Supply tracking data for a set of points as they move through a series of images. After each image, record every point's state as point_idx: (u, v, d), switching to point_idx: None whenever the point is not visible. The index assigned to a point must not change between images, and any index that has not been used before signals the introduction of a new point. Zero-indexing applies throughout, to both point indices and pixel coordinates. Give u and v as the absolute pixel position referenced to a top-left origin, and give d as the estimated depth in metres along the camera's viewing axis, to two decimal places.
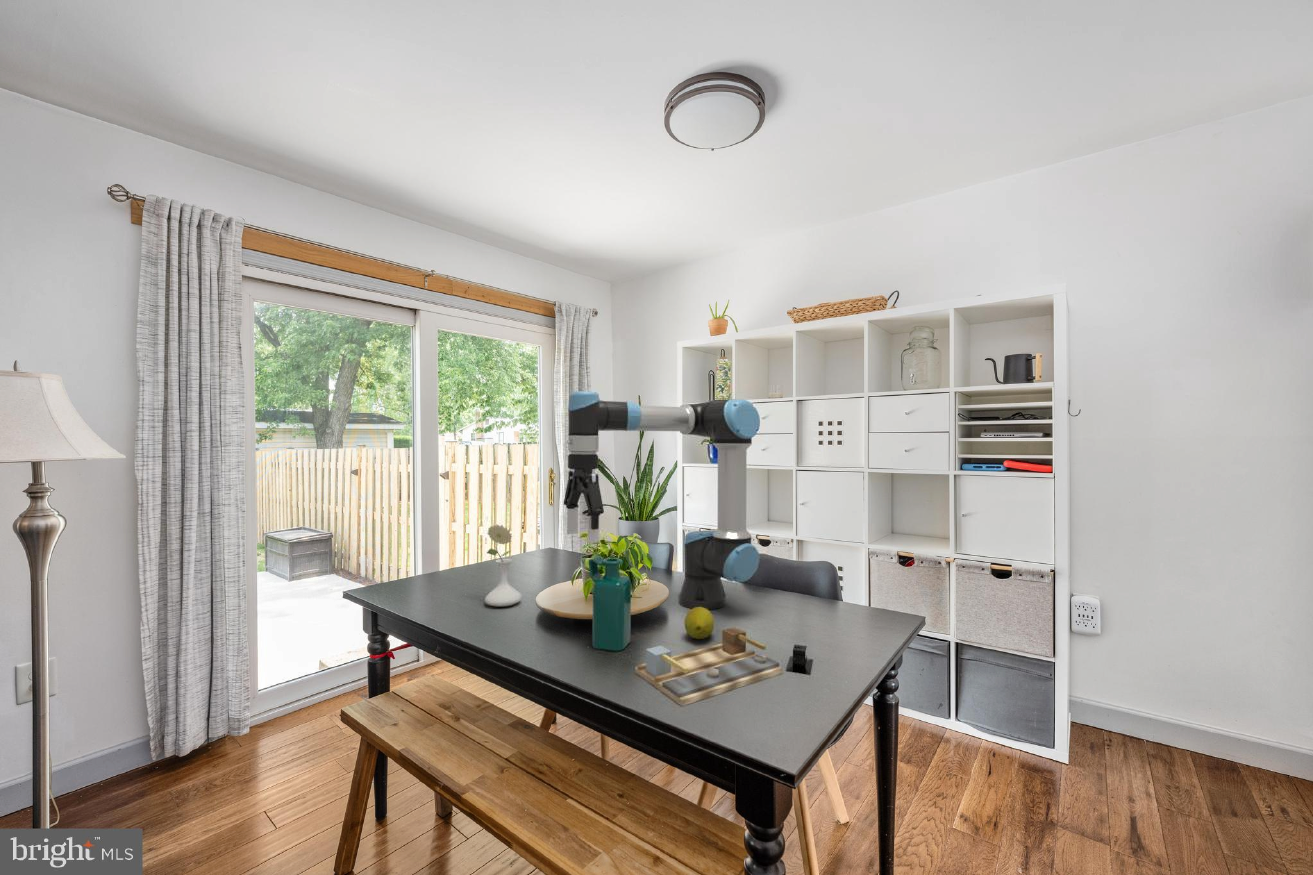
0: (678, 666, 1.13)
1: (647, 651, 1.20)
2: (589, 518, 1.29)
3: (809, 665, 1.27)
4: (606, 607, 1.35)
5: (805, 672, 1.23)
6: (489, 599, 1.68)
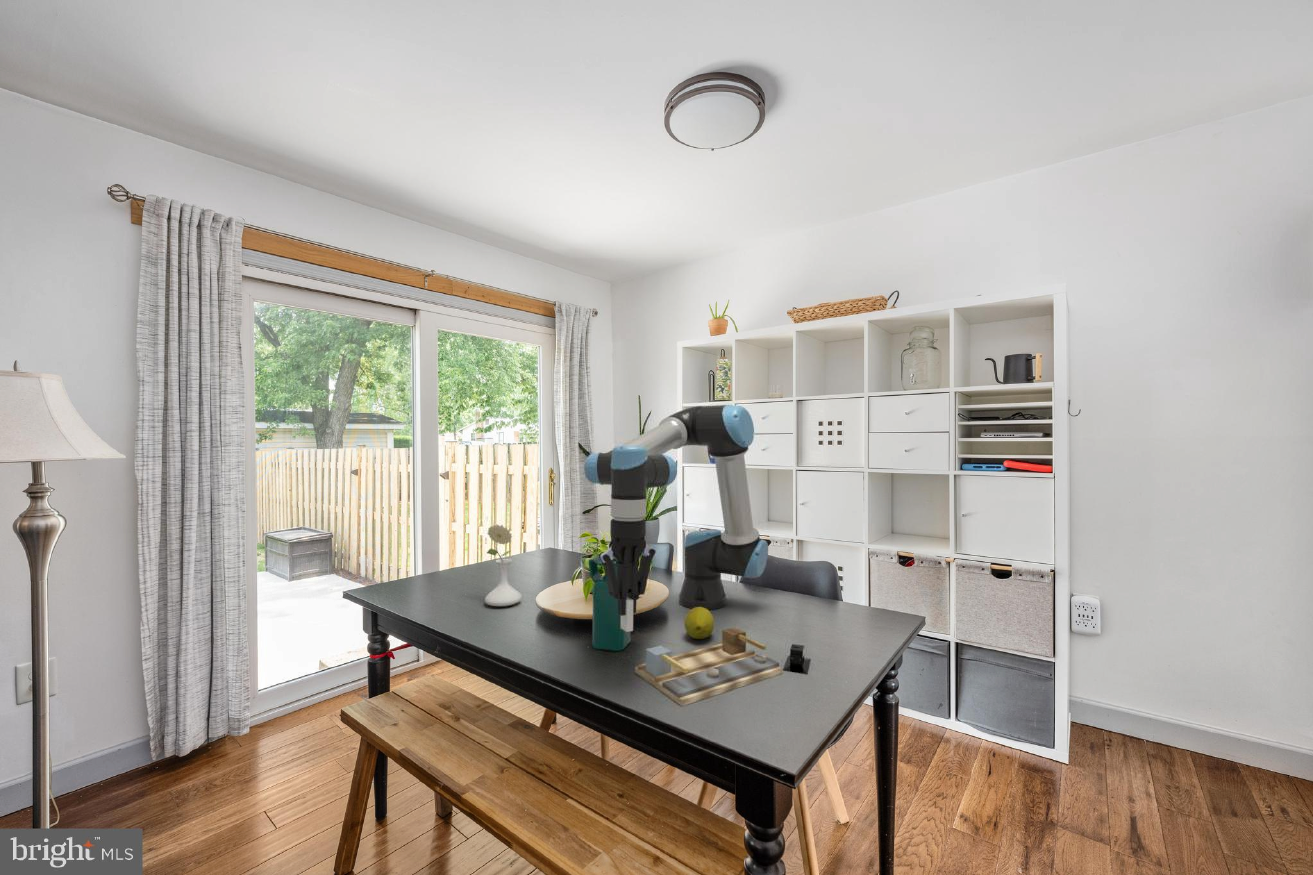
0: (678, 666, 1.13)
1: (647, 651, 1.20)
2: None
3: (806, 665, 1.27)
4: (606, 607, 1.35)
5: (802, 671, 1.23)
6: (489, 599, 1.68)
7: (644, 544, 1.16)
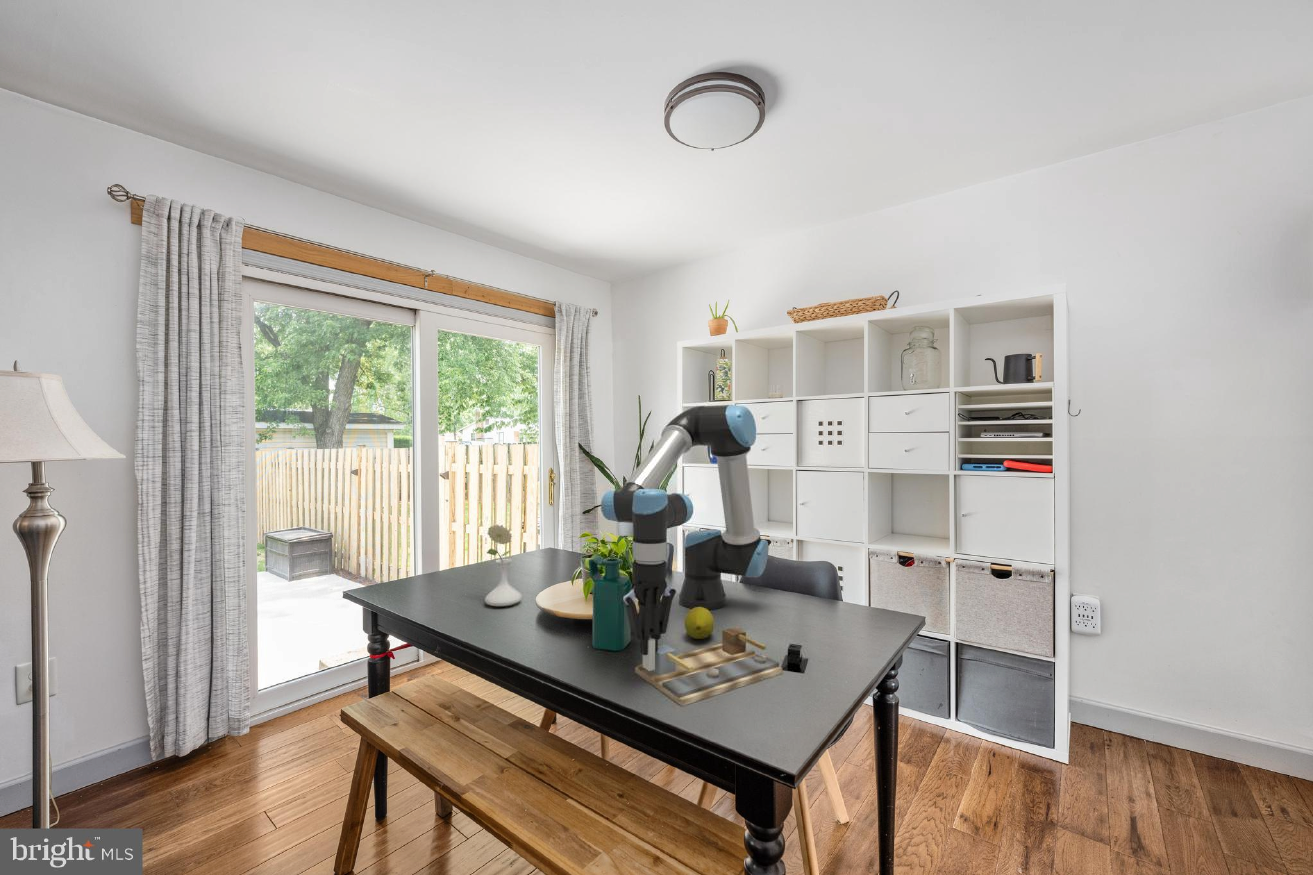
0: (683, 665, 1.13)
1: None
2: None
3: (804, 664, 1.27)
4: (606, 607, 1.35)
5: (799, 671, 1.24)
6: (489, 599, 1.68)
7: (665, 585, 1.19)
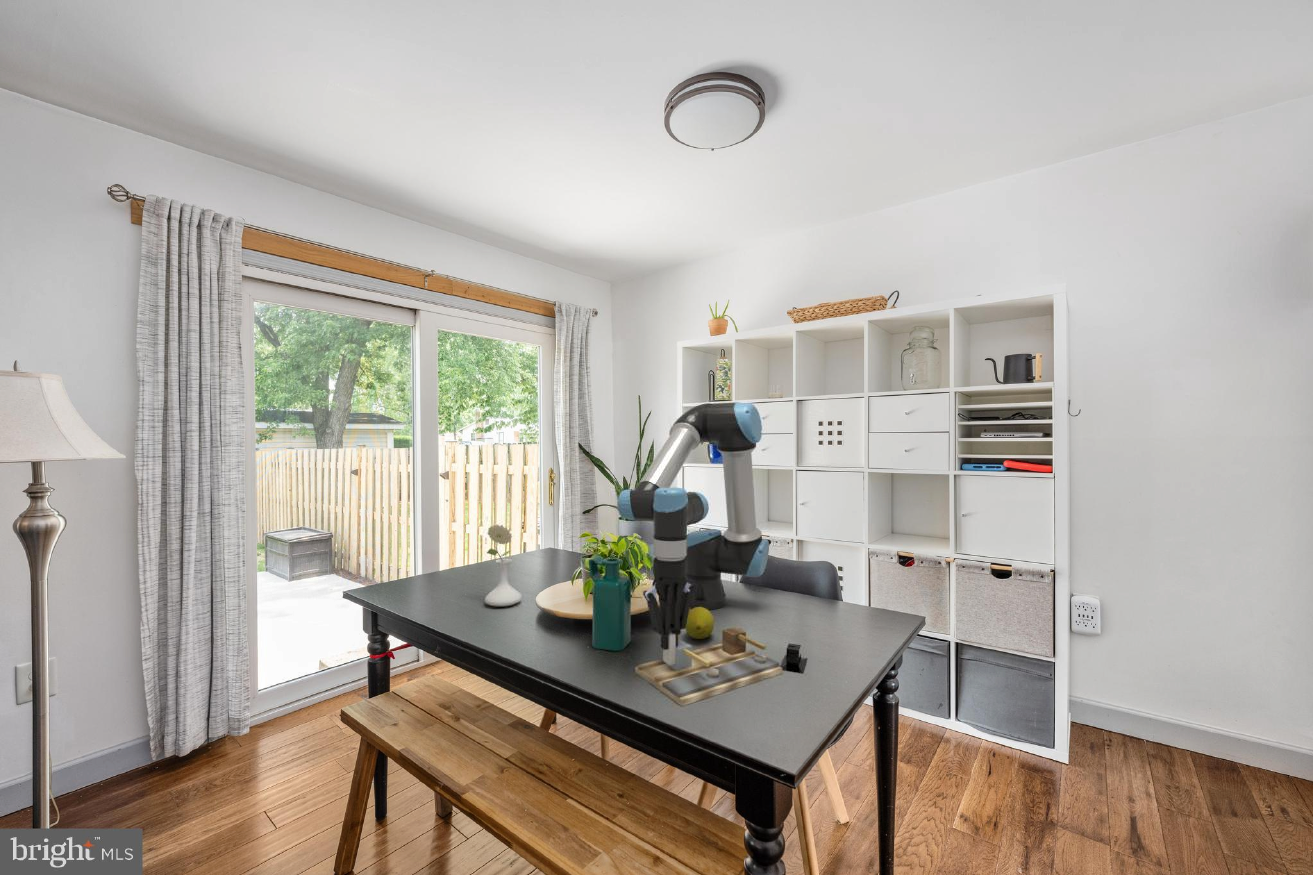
0: (700, 660, 1.16)
1: None
2: None
3: (803, 664, 1.27)
4: (606, 607, 1.35)
5: (798, 671, 1.24)
6: (489, 599, 1.68)
7: (685, 581, 1.22)
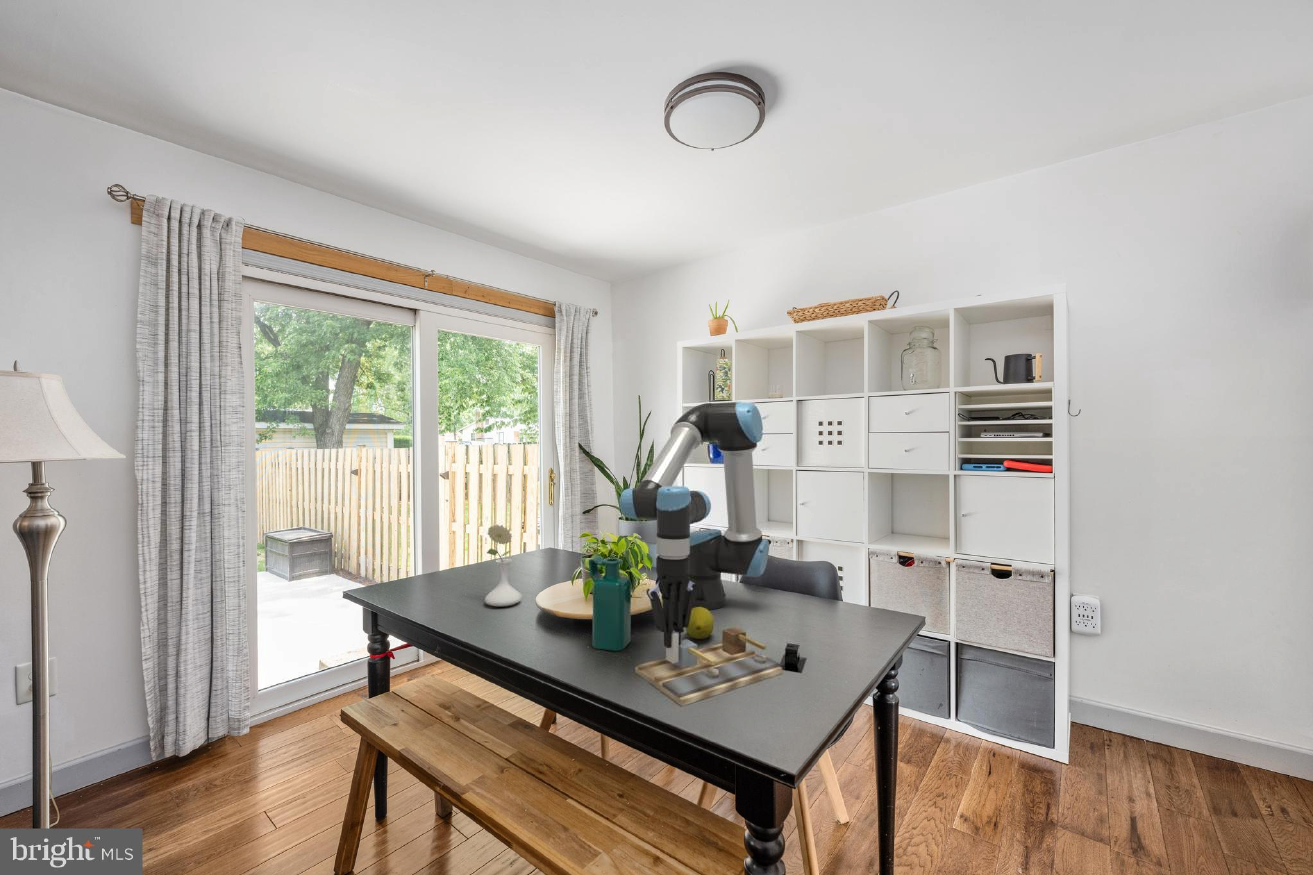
0: (705, 658, 1.17)
1: None
2: None
3: (801, 664, 1.27)
4: (606, 607, 1.35)
5: (797, 671, 1.24)
6: (489, 599, 1.68)
7: (688, 579, 1.23)
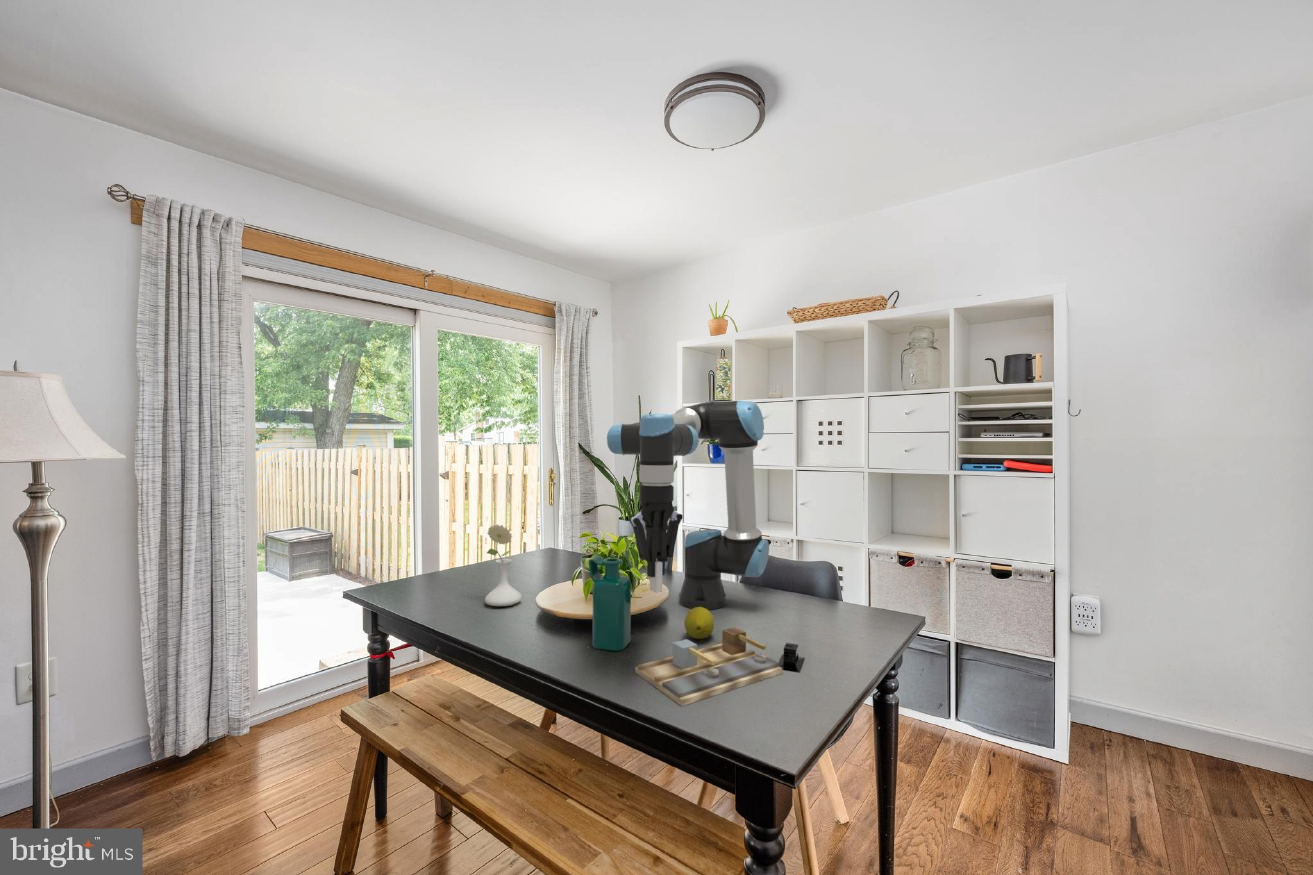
0: (705, 658, 1.17)
1: (674, 644, 1.24)
2: None
3: (800, 663, 1.28)
4: (606, 607, 1.35)
5: (795, 670, 1.24)
6: (489, 599, 1.68)
7: (672, 509, 1.21)
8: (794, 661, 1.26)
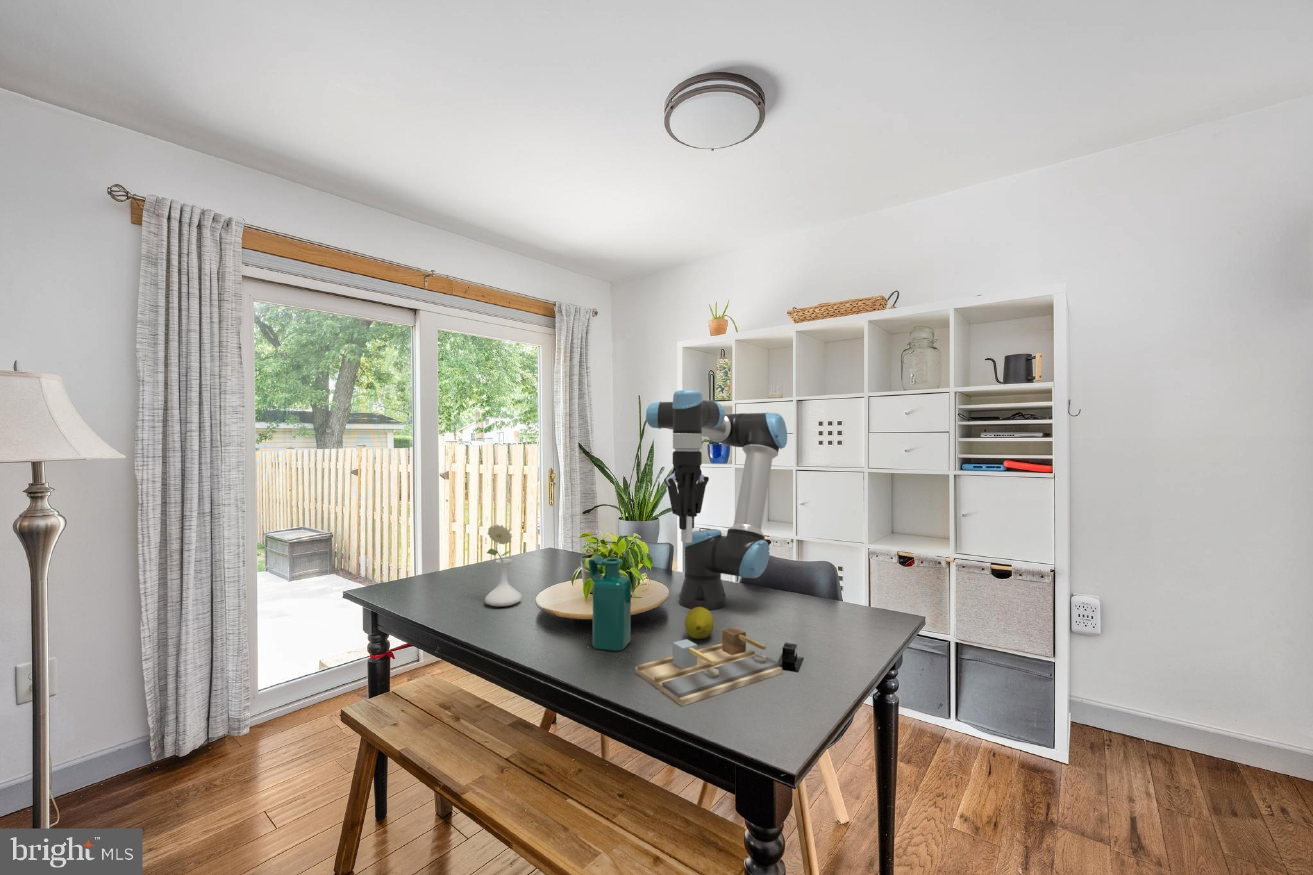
0: (705, 658, 1.17)
1: (674, 644, 1.24)
2: None
3: (799, 663, 1.28)
4: (606, 607, 1.35)
5: (794, 670, 1.24)
6: (489, 599, 1.68)
7: (700, 472, 1.41)
8: (793, 661, 1.26)
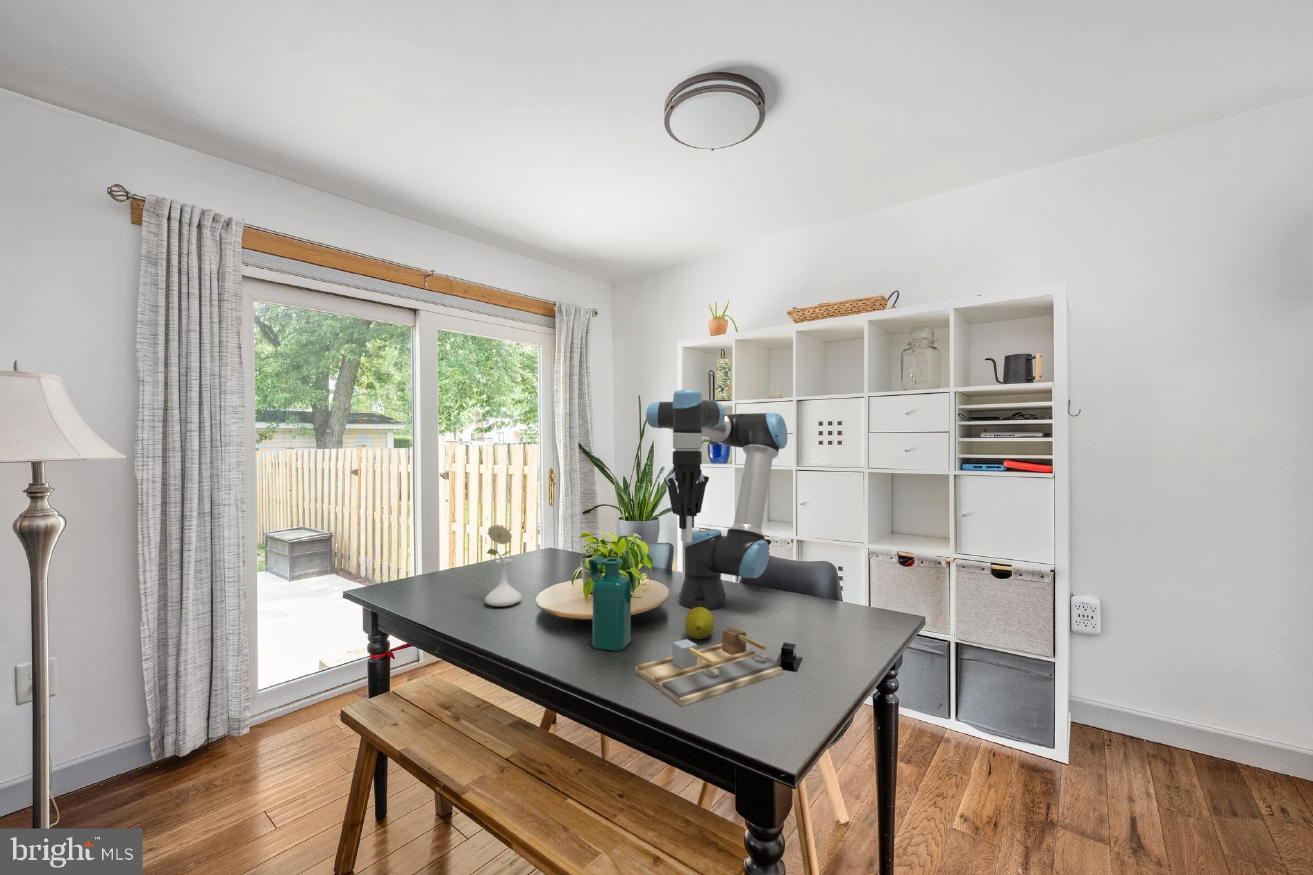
0: (705, 658, 1.17)
1: (674, 644, 1.24)
2: None
3: (797, 663, 1.28)
4: (606, 607, 1.35)
5: (792, 670, 1.24)
6: (489, 599, 1.68)
7: (700, 471, 1.41)
8: (791, 660, 1.26)
